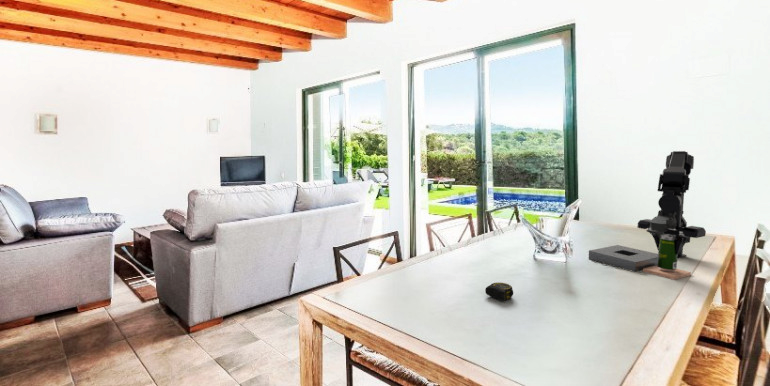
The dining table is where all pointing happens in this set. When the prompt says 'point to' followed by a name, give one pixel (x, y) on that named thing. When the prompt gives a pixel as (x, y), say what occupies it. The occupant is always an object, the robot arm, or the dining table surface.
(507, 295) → the tape measure
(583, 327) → the dining table surface
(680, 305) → the dining table surface
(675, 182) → the robot arm
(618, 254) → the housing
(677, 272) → the coaster
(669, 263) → the beer can
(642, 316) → the dining table surface
